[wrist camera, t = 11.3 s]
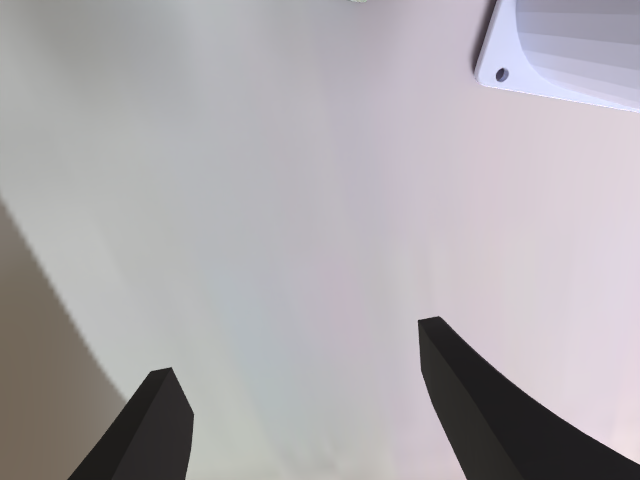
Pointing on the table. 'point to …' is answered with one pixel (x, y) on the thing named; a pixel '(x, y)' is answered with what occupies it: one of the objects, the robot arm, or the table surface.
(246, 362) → the table surface
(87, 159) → the table surface
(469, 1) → the table surface
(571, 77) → the robot arm
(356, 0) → the tray
